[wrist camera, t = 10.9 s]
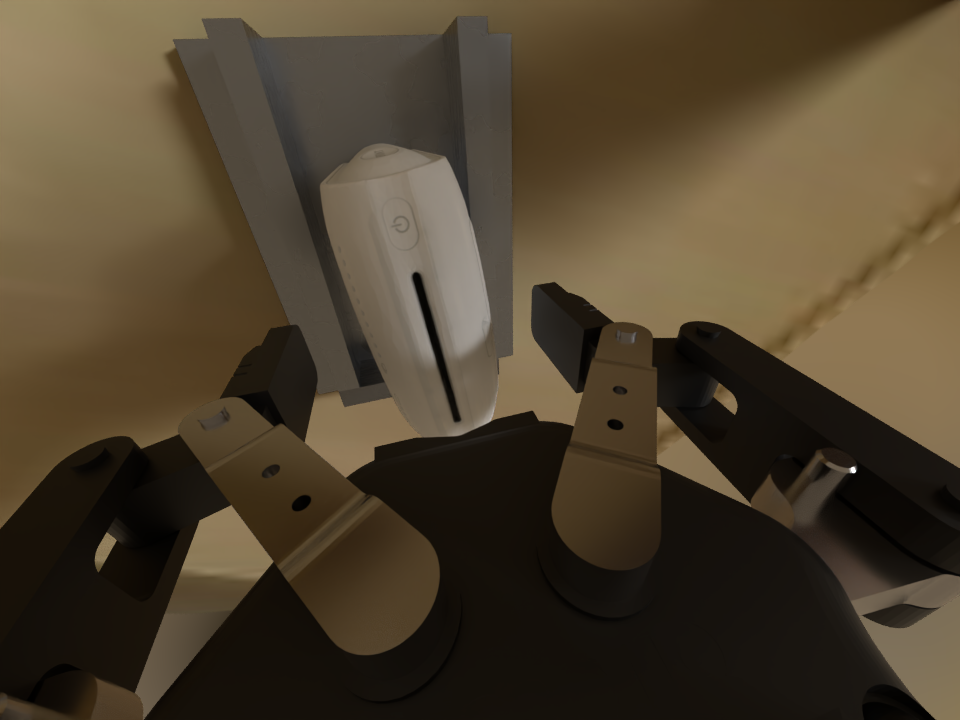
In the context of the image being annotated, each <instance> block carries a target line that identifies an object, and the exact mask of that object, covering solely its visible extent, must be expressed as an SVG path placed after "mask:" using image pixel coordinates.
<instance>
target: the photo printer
mask: <svg viewBox="0 0 960 720" xmlns="http://www.w3.org/2000/svg"><path fill="white" fill-rule="evenodd" d="M320 193H321V201H322V208H323V214H324V219H325V224H326V228H327V232H328V235H329V238H330V242H331V246H332V248H333V251H334V255H335V258H336V261H337V264H338V267H339V269H340V272H341V275H342V278H343V281H344V284H345V286H346V289H347V292H348V295H349V297H350V300H351V303H352V305H353V308H354V311H355V313H356V316H357V318H358V321H359V323H360V326H361V328H362V331H363V333H364V335H365V338H366V340H367V343H368V345H369V347H370V350H371V352H372V354H373V357H374V359H375V361H376V364H377V366H378V368H379V370H380V372H381V375H382V377H383V379H384V381H385V383H386V385H387V387H388V389H389V391H390V393H391V395H392V397H393V399H394V401H395V403H396V405H397V407H398V408H399V410H400V412H401V413H402V415H403V416H404V418H405V419H406V420H407V422H408V423H409V424H410V425H411V426H412V427H413V428H414V430H415V431H417V432H418V433H419V434H420V435H421V436H422V437H448V436H459V435H462V434H465V433H467V432H469V431H471V430H473V429H476V428H478V427H480V426H482V425H484V424H487V423H489V422H490V421H491V419H492V416H493V413H494V409H495V404H496V399H497V392H498V369H497V358H496V349H495V341H494V334H493V327H492V320H491V314H490V308H489V302H488V296H487V291H486V285H485V280H484V275H483V270H482V265H481V260H480V256H479V251H478V247H477V243H476V238H475V234H474V230H473V226H472V223H471V220H470V218H469V216H468V212H467V208H466V204H465V201H464V198H463V195H462V193H461V190H460V187H459V184H458V182H457V179H456V177H455V175H454V173H453V170H452V168H451V166H450V164H449V162H448V160H447V158H446V157H445V156H441V155H437V154H432V153H427V152H423V151H419V150H416V149H411V150H409V149H406V148H402V147H398V146H394V145H391V144H384V143H380V144H372V145H370V146H367V147H365V148H363V149H362V150H361V151H359V152H358V153H357V154H356V155H355V156H354V157H353V158H352V160H351V161H350V162H349V163H343V164H341V165H339V166H338V167H337V168H336V169H335V170H334V171H333V172H332V173H331V174H330V175H329V176H328V177H327V178H326V179H324V181H323V182H322V183H320Z"/></svg>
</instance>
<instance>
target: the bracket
mask: <svg viewBox="0 0 960 720" xmlns="http://www.w3.org/2000/svg"><path fill="white" fill-rule="evenodd" d="M202 21H203V24H204V27H205V30H206V32H207V35H208V38H209V39H173V42H174V44H175V46H176V49H177V51H178V54H179V56H180V59H181V61H182V63H183V66H184V68H185V71H186V73H187V76H188V78H189V80H190V83H191V85H192V88H193V90H194V93H195V95H196V97H197V100H198V102H199V105H200V107H201V110H202V112H203V114H204V117H205V119H206V122H207V124H208V127H209V129H210V131H211V134H212V136H213V139H214V141H215V144H216V146H217V148H218V151H219V153H220V156H221V158H222V160H223V163H224V165H225V168H226V170H227V173H228V175H229V177H230V180H231V182H232V185H233V187H234V190H235V192H236V194H237V197H238V199H239V202H240V204H241V207H242V209H243V211H244V214H245V216H246V219H247V221H248V224H249V226H250V228H251V231H252V233H253V236H254V238H255V241H256V243H257V245H258V248H259V250H260V253H261V255H262V258H263V260H264V262H265V265H266V267H267V270H268V272H269V275H270V277H271V279H272V282H273V284H274V287H275V289H276V292H277V294H278V296H279V299H280V301H281V304H282V306H283V309H284V311H285V313H286V316H287V318H288V321H289V323H290V325H295V324H296V325H298V326H299V328H300V329H301V332H302V334H303V336H304V339H305V341H306V344H307V346H308V349H309V351H310V354H311V356H312V359H313V361H314V363H315V366H316V370H317V376H318V383H317V387H316V389H317V391H318V393H319V394H323V393H328V392H333V391H339V394H340V396H341V399H342V402H343V404H344V407H347V406H351V405H356V404H361V403H366V402H370V401H375V400H380V399H385V398H389V397H392V395H391V393H390V391H389V389H388V387H387V385H386V383H385V381H384V379H383V377H382V375H381V372H380V370H379V368H378V366H377V364H376V361H375V359H374V357H373V354H372V352H371V350H370V347H369V345H368V343H367V340H366V338H365V335H364V333H363V331H362V328H361V326H360V323H359V321H358V318H357V316H356V313H355V311H354V308H353V305H352V303H351V300H350V297H349V295H348V292H347V289H346V286H345V284H344V281H343V278H342V275H341V272H340V269H339V267H338V264H337V261H336V258H335V255H334V251H333V248H332V246H331V242H330V238H329V235H328V232H327V228H326V224H325V219H324V214H323V208H322V201H321V193H320V183H322V182H323V181H324V179H326V178H327V177H328V176H329V175H330V174H331V173H332V172H333V171H334V170H335V169H336V168H337V167H338V166H339V165H341V164H343V163H349V162H350V161H351V160H352V158H353V157H354V156H355V155H356V154H357V153H358V152H359V151H361V150H362V149H363V148H365V147H367V146H370V145H372V144H380V143H384V144H391V145H394V146H398V147H402V148H406V149H409V150H411V149H416V150H419V151H423V152H427V153H432V154H437V155H441V156H445V157H446V158H447V160H448V162H449V164H450V166H451V168H452V170H453V173H454V175H455V177H456V179H457V182H458V184H459V187H460V190H461V193H462V195H463V198H464V201H465V204H466V208H467V212H468V216H469V218H470V220H471V223H472V226H473V230H474V234H475V238H476V243H477V247H478V251H479V256H480V260H481V265H482V270H483V275H484V280H485V285H486V291H487V296H488V302H489V308H490V314H491V320H492V327H493V334H494V341H495V349H496V358H497V369H498V374H499V359H498V358H501V357H506V356H511V355H513V271H512V60H511V33H500V34H488V24H487V16H457V17H456V18H455V20H454V21H453V22H452V23H451V25H450V26H449V27H448V29H447V30H446V31H445V32H444V34H443V35H390V36H335V37H280V38H262V37H261V36H260V35H259V34H258V33H257V32H255V31H254V30H253V29H252V28H251V27H250V26H249V25H248V24H247V23H246V22H244V21H243V20H242V19H241V18H217V19H202Z"/></svg>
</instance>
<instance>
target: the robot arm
mask: <svg viewBox="0 0 960 720" xmlns="http://www.w3.org/2000/svg"><path fill="white" fill-rule="evenodd" d="M531 328H532V334H533V337H534V339H535V341H536V342H537V343H538V345H539V346H540V347H541V349H542V350H543V351H544V352H545V354H546V355H547V356H548V358H549V359H550V360H551V361H552V363H553V364H554V365H555V367H556V368H557V369H558V370H559V372H560V373H561V374H562V376H563V377H564V378H565V379H566V381H567V382H568V383H569V385H570V386H571V387H572V388H573V390H574V391H575V392H576V393H580V392H583V395H582V399H581V403H580V406H579V410H578V414H577V418H576V421H575V425H574V426H571V425H567V424H563V423H557V422H548V421H539V420H538V419H537V417H536V415H535V414H534V412H533V411H529V412H525V413H520V414H516V415H512V416H508V417H503V418H499V419H495V420H493V421H491V422H489V423H487V424H484V425H482V426H480V427H478V428H476V429H473V430H471V431H469V432H467V433H465V434H462V435H459V436H448V437H422V438H413V439H408V440H404V441H400V442H395V443H391V444H387V445H382V446H378V447H375V460H374V461H372V462H370V463H368V464H366V465H364V466H362V467H361V468H359V469H358V470H356V471H355V472H353V473H352V474H350V475H349V476H348V477H347V478H345V477H344V476H343V475H342V474H341V473H339V472H338V471H337V470H336V469H335V468H334V467H332V466H331V465H330V464H329V463H328V462H327V461H325V460H324V459H323V458H322V457H321V456H320V455H318V454H317V453H316V452H315V451H314V450H312V449H311V448H310V447H309V446H308V445H307V444H305V443H304V442H305V438H306V433H307V429H308V424H309V420H310V415H311V410H312V406H313V401H314V397H315V392H316V387H317V383H318V376H317V370H316V366H315V363H314V361H313V359H312V356H311V354H310V351H309V349H308V346H307V344H306V341H305V339H304V336H303V334H302V332H301V329H300V328H299V326H298V325H296V324H295V325H289V326H283V327H277V328H271V329H270V330H269V332H268V334H267V336H266V338H265V340H264V342H263V343H262V345H261V346H256V347H255V348H253V349H252V350H251V351H250V352H249V353H247V354H246V355H245V356H244V357H243V359H242V361H241V362H240V364H239V366H238V367H239V368H237V369H236V371H235V373H234V377H232V378H231V380H230V382H229V383H228V385H227V387H226V389H225V390H224V392H223V394H222V396H221V397H220V399H218V400H215V401H212V402H209V403H207V404H205V405H203V406H201V407H199V408H197V409H196V410H194V411H193V412H191V413H190V414H189V415H187V416H186V417H185V418H184V419H183V421H182V422H181V423H180V425H179V428H178V433H179V435H176V436H174V437H171V438H169V439H166V440H163V441H161V442H158V443H156V444H153V445H150V446H148V447H145V448H142V449H141V448H140V447H139V446H138V445H137V444H136V443H135V442H134V441H133V439H131V438H130V437H126V436H117V437H111V438H107V439H103V440H100V441H98V442H95V443H93V444H90V445H88V446H86V447H84V448H82V449H80V450H78V451H76V452H74V453H73V454H71V455H70V456H68V457H67V458H65V459H64V460H63V461H61V462H60V463H59V464H58V465H57V466H55V467H54V468H53V469H52V471H51V472H50V473H49V474H48V475H47V476H46V477H45V479H44V480H43V481H42V482H41V483H40V484H39V485H38V487H37V488H36V489H35V490H34V491H33V492H32V493H31V495H30V496H29V497H28V498H27V499H26V500H25V501H24V503H23V504H22V505H21V506H20V507H19V508H18V509H17V511H16V512H15V513H14V514H13V515H12V516H11V517H10V519H9V520H8V521H7V522H6V523H5V524H4V525H3V527H2V528H1V529H0V720H143V704H142V702H141V699H140V697H139V696H138V695H137V694H135V691H136V688H137V685H138V683H139V680H140V677H141V675H142V672H143V670H144V667H145V664H146V661H147V659H148V656H149V654H150V651H151V648H152V646H153V643H154V640H155V638H156V635H157V632H158V630H159V627H160V624H161V622H162V619H163V616H164V614H165V611H166V609H167V606H168V603H169V601H170V598H171V595H172V593H173V590H174V587H175V585H176V582H177V579H178V577H179V574H180V571H181V569H182V566H183V563H184V561H185V558H186V555H187V553H188V550H189V547H190V545H191V542H192V540H193V537H194V534H195V532H196V529H197V526H198V523H199V520H201V519H203V518H205V517H207V516H210V515H212V514H214V513H216V512H218V511H220V510H222V509H224V508H226V507H228V506H230V505H232V507H233V508H234V509H235V511H236V512H237V513H238V515H239V516H240V517H241V519H242V520H243V521H244V523H245V524H246V525H247V527H248V528H249V529H250V531H251V532H252V533H253V535H254V536H255V537H256V539H257V540H258V541H259V543H260V544H261V545H262V547H263V548H264V549H265V551H266V552H267V553H268V555H269V556H270V557H271V559H272V560H273V561H274V562H273V563H272V564H271V566H270V567H269V568H268V569H267V570H266V572H265V573H264V574H263V575H262V576H261V578H260V579H259V580H258V581H257V582H256V584H255V585H254V586H253V587H252V588H251V590H250V591H249V592H248V593H247V594H246V596H245V597H244V598H243V599H242V601H241V602H240V603H239V604H238V605H237V607H236V608H235V609H234V610H233V611H232V613H231V614H230V615H229V616H228V617H227V619H226V620H225V621H224V622H223V624H222V625H221V626H220V627H219V628H218V630H217V631H216V632H215V633H214V634H213V636H212V637H211V638H210V640H208V642H207V643H206V644H205V645H204V647H203V648H202V649H201V650H200V652H198V654H197V655H196V656H195V657H194V659H193V660H192V661H191V662H190V663H189V665H188V666H187V667H186V668H185V669H184V671H183V672H182V673H181V674H180V675H179V677H178V678H177V679H176V680H175V681H174V683H173V684H172V685H171V686H170V688H169V689H168V690H167V691H166V692H165V694H164V695H163V696H162V697H161V698H160V700H159V701H158V702H157V703H156V705H155V706H154V707H153V708H152V710H151V711H150V712H149V714H148V715H147V716H146V717H145V719H144V720H935V719H934V718H933V717H932V716H931V715H930V714H929V713H928V712H927V711H926V710H925V709H924V708H923V707H922V706H921V704H919V702H918V701H917V700H916V699H915V698H914V697H913V696H912V694H911V693H910V692H909V690H908V689H907V688H906V686H905V685H904V684H903V683H902V681H901V680H900V679H899V677H898V676H897V675H896V673H895V672H894V671H893V669H892V668H891V667H890V665H889V664H888V662H887V661H886V660H885V658H884V657H883V655H882V654H881V652H880V651H879V650H878V648H877V646H876V645H875V644H874V642H873V641H872V639H871V637H870V635H869V634H868V632H867V630H866V629H865V627H864V625H863V624H862V622H861V620H860V618H859V617H858V616H861V615H862V616H864V617H866V618H868V619H870V620H872V621H874V622H876V623H879V624H881V625H885V626H888V627H893V628H905V627H909V626H911V625H913V624H914V623H916V622H918V621H919V620H921V619H923V618H924V617H926V616H927V615H929V614H931V613H932V612H934V611H935V610H937V609H939V608H940V607H942V606H944V605H945V604H947V603H948V602H950V601H952V600H953V599H955V598H956V597H958V596H960V468H958V467H956V466H955V465H953V464H951V463H950V462H948V461H947V460H945V459H943V458H942V457H940V456H938V455H937V454H935V453H933V452H932V451H930V450H928V449H927V448H925V447H923V446H922V445H920V444H918V443H917V442H915V441H913V440H912V439H910V438H909V437H907V436H905V435H903V434H902V433H900V432H899V431H897V430H895V429H894V428H892V427H890V426H889V425H887V424H885V423H884V422H882V421H880V420H879V419H877V418H875V417H873V416H872V415H870V414H869V413H867V412H865V411H864V410H862V409H861V408H859V407H857V406H855V405H854V404H852V403H851V402H849V401H847V400H845V399H844V398H842V397H841V396H839V395H837V394H836V393H834V392H832V391H831V390H829V389H827V388H826V387H824V386H822V385H821V384H819V383H817V382H816V381H814V380H813V379H811V378H809V377H807V376H806V375H804V374H802V373H801V372H799V371H798V370H796V369H794V368H792V367H791V366H789V365H787V364H786V363H784V362H783V361H781V360H779V359H778V358H776V357H774V356H773V355H771V354H769V353H768V352H766V351H765V350H763V349H761V348H760V347H758V346H756V345H755V344H753V343H751V342H750V341H748V340H746V339H745V338H743V337H741V336H740V335H738V334H736V333H735V332H733V331H731V330H730V329H728V328H726V327H724V326H721V325H718V324H715V323H710V322H703V321H693V322H688V323H685V324H683V325H682V326H681V327H680V330H679V334H678V337H677V338H653V335H652V333H651V332H650V331H649V330H648V329H647V328H645V327H643V326H640V325H637V324H634V323H628V322H615V323H614V322H613V321H612V320H610V319H609V318H608V317H606V316H605V315H604V314H603V313H601V312H600V311H599V310H597V309H596V308H595V307H594V306H593V305H590V303H589V302H587V301H586V300H585V299H584V298H582V297H580V296H577V295H575V294H572V293H568V292H566V291H565V290H564V289H563V288H562V287H560V286H559V285H558V284H557V283H555V282H552V283H546V284H540V285H535V286H534V287H533V289H532V312H531ZM718 383H720V384H722V385H723V386H724V387H725V388H727V389H728V390H729V391H730V392H731V393H732V394H733V395H734V396H735V398H736V401H737V404H738V408H737V412H736V414H735V415H734V414H733V413H732V412H730V411H729V410H728V409H727V408H726V407H724V406H723V405H722V404H721V403H720V402H719V401H717V400H716V399H715V398H714V397H713V395H714V393H715V390H716V388H717V386H718ZM657 407H660V408H661V409H662V410H663V411H664V412H665V413H666V414H667V415H668V416H669V418H670V419H671V420H672V421H673V422H674V423H675V424H676V425H677V426H678V427H679V428H680V429H681V430H682V431H683V432H684V433H685V435H686V436H687V437H688V438H689V439H690V440H691V441H692V442H693V443H694V444H695V445H696V446H697V447H698V448H699V449H700V450H701V452H702V453H704V455H705V456H706V457H707V458H708V459H709V460H710V461H711V462H712V463H713V464H714V465H715V466H716V467H717V469H719V471H720V472H721V473H722V474H723V475H724V476H725V477H726V478H727V479H728V480H729V481H730V482H731V483H732V485H733V486H734V487H735V488H736V489H737V490H738V491H739V492H740V493H741V494H742V495H743V496H744V497H745V498H746V499H747V500H748V501H749V503H750V504H751V507H749V506H747V505H745V504H743V503H741V502H739V501H736V500H734V499H732V498H730V497H728V496H726V495H723V494H721V493H719V492H717V491H714V490H712V489H710V488H708V487H706V486H704V485H701V484H699V483H697V482H695V481H693V480H691V479H688V478H686V477H684V476H682V475H680V474H678V473H675V472H673V471H671V470H669V469H667V468H665V467H663V466H660V465H658V464H657ZM106 532H107V533H109V534H110V535H111V536H112V537H114V538H115V539H116V540H117V541H116V543H115V545H114V546H113V548H112V550H111V552H110V554H109V555H108V557H107V559H106V561H105V562H104V564H103V566H102V568H101V570H100V571H99V573H98V571H97V569H96V567H95V554H96V550H97V548H98V546H99V544H100V542H101V541H102V539H103V537H104V536H105V534H106Z"/></svg>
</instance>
